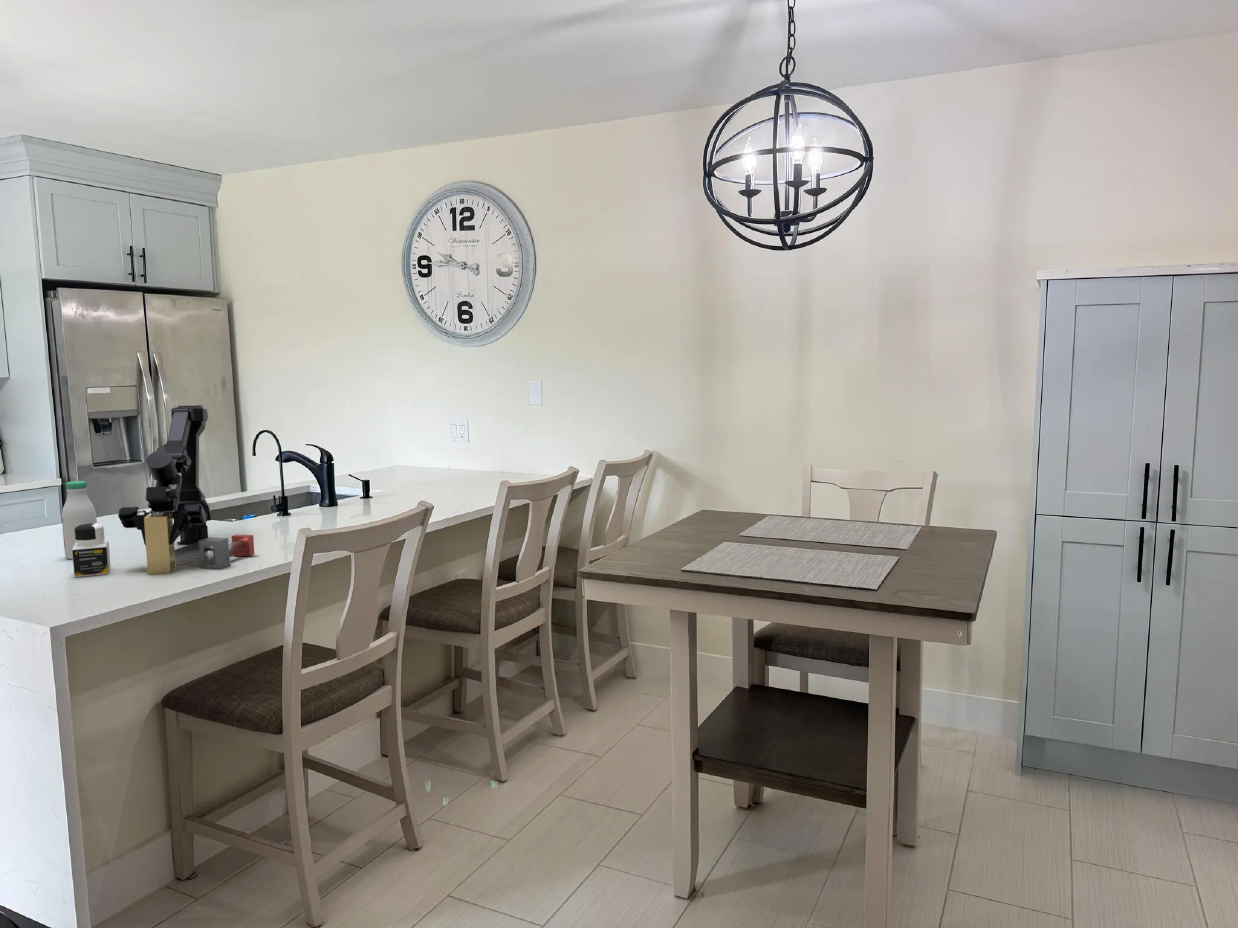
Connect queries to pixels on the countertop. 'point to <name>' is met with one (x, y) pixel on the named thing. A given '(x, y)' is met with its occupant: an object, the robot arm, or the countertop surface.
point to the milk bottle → (76, 513)
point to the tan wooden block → (159, 543)
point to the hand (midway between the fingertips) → (158, 544)
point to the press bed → (189, 555)
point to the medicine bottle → (90, 551)
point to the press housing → (219, 550)
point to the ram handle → (237, 546)
